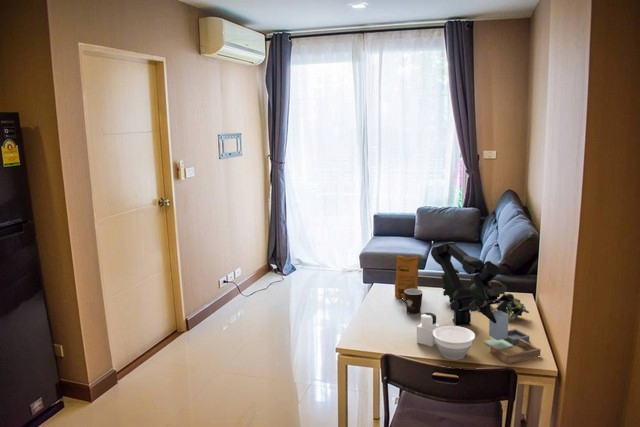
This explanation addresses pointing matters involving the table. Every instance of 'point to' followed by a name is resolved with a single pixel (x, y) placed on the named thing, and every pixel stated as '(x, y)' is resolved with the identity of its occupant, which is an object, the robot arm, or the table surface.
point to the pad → (498, 343)
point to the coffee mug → (412, 300)
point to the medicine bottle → (427, 329)
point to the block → (499, 325)
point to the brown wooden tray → (513, 358)
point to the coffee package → (406, 275)
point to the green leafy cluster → (515, 309)
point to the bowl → (453, 341)
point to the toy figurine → (450, 292)
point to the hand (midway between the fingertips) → (501, 321)
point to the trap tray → (516, 336)
